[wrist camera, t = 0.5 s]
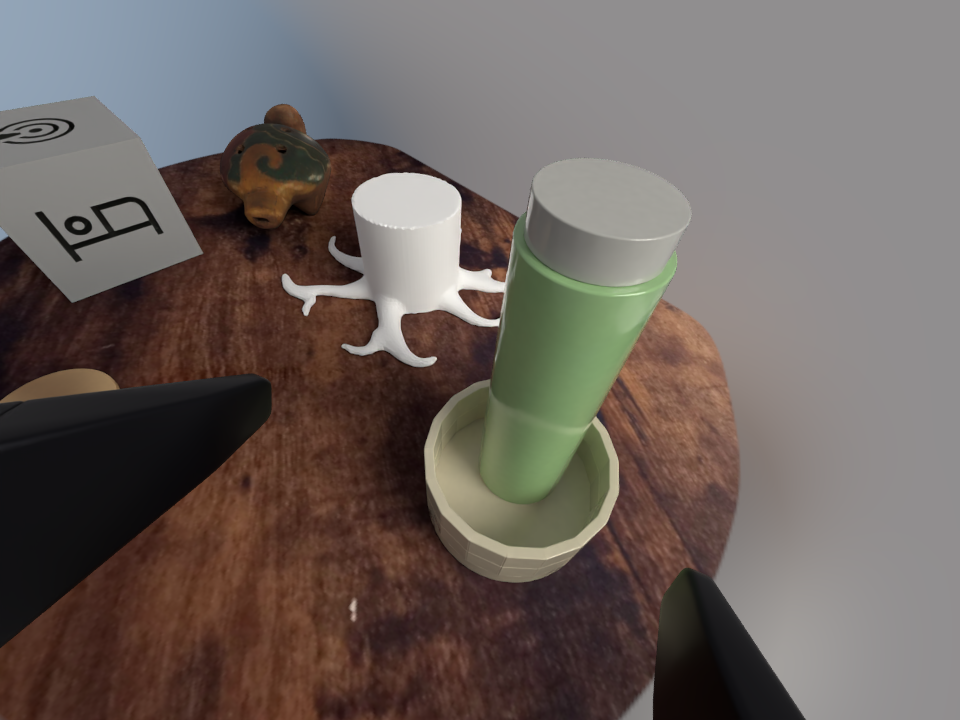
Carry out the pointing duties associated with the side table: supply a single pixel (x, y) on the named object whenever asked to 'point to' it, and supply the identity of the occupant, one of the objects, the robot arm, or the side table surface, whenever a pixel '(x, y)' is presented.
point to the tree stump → (404, 259)
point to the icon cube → (86, 198)
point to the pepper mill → (573, 313)
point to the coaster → (63, 385)
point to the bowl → (501, 524)
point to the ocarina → (276, 168)
